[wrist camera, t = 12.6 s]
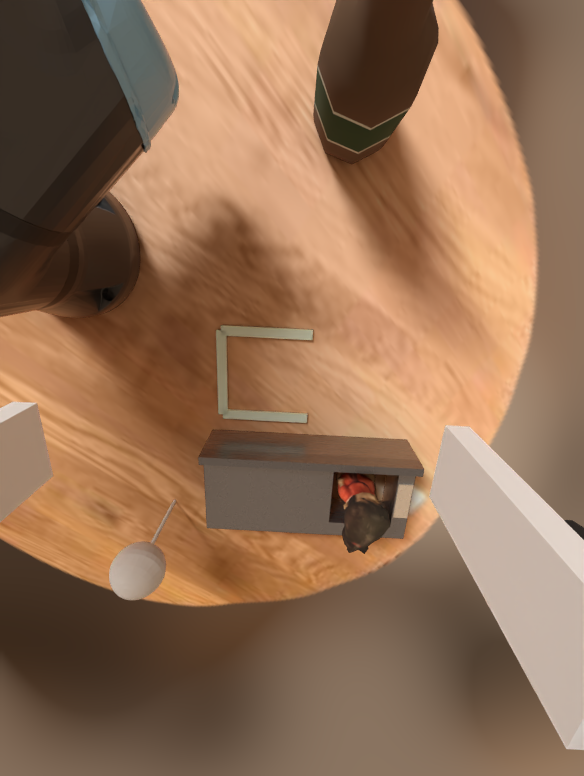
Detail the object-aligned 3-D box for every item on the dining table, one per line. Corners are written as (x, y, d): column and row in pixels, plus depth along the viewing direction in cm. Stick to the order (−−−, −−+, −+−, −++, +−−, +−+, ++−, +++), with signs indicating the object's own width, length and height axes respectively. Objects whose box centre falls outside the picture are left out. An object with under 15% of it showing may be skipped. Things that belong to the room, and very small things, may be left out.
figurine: (374, 494, 50) (395, 563, 38) (334, 495, 50) (344, 564, 39) (375, 456, 47) (398, 517, 36) (334, 457, 48) (344, 518, 36)
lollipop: (174, 476, 49) (124, 562, 35) (203, 503, 51) (166, 596, 37) (145, 498, 51) (85, 590, 37) (174, 524, 52) (127, 621, 38)
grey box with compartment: (215, 503, 51) (202, 539, 44) (212, 429, 47) (198, 457, 40) (393, 512, 51) (407, 550, 44) (406, 439, 46) (424, 469, 40)
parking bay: (219, 417, 46) (218, 418, 46) (216, 324, 42) (215, 325, 41) (306, 421, 46) (306, 422, 45) (312, 329, 42) (313, 330, 41)
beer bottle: (408, 118, 34) (613, -156, 12) (350, 184, 36) (431, 59, 14) (353, 50, 33) (470, -422, 10) (296, 123, 35) (287, -131, 12)
